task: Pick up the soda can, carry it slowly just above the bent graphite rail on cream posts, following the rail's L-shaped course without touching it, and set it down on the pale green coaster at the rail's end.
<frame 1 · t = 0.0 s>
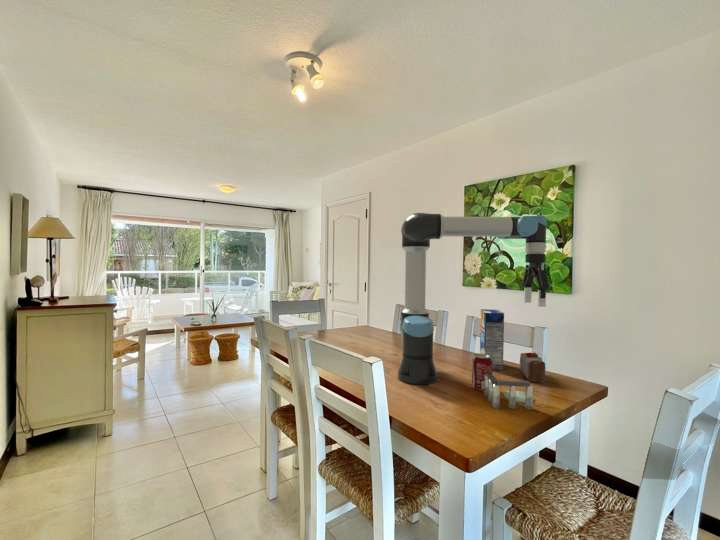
hand: (534, 304, 148), 28 cm above the table, tool pointing down, fingers open, 13 cm apart
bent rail: (507, 401, 116), on the table
food item: (532, 377, 142), on the table
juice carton: (490, 366, 156), on the table
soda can: (481, 389, 128), on the table
coaster: (518, 397, 120), on the table
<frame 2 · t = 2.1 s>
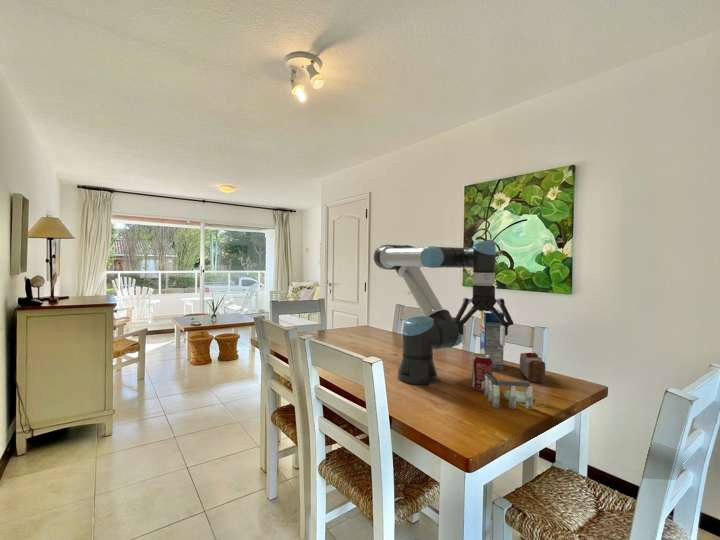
hand: (482, 344, 127), 16 cm above the table, tool pointing down, fingers open, 13 cm apart
nothing on the table moved.
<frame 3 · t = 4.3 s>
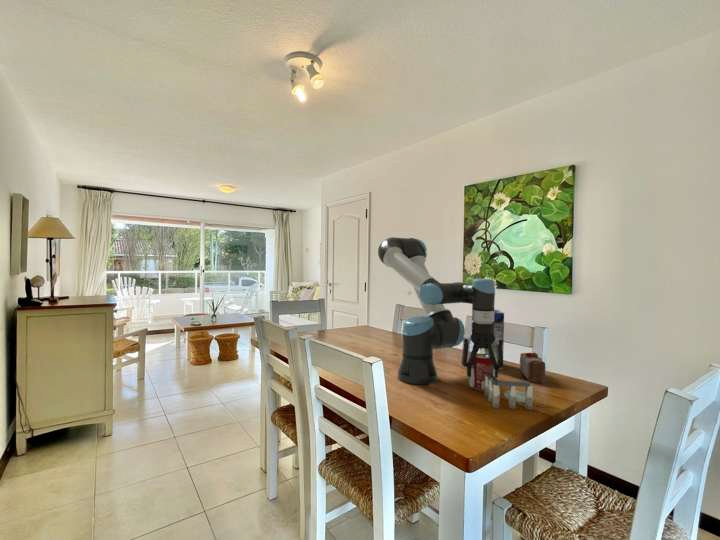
hand: (481, 385, 128), 1 cm above the table, tool pointing down, fingers closed on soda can, 7 cm apart
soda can: (481, 389, 128), on the table, touching gripper
everything else where it was.
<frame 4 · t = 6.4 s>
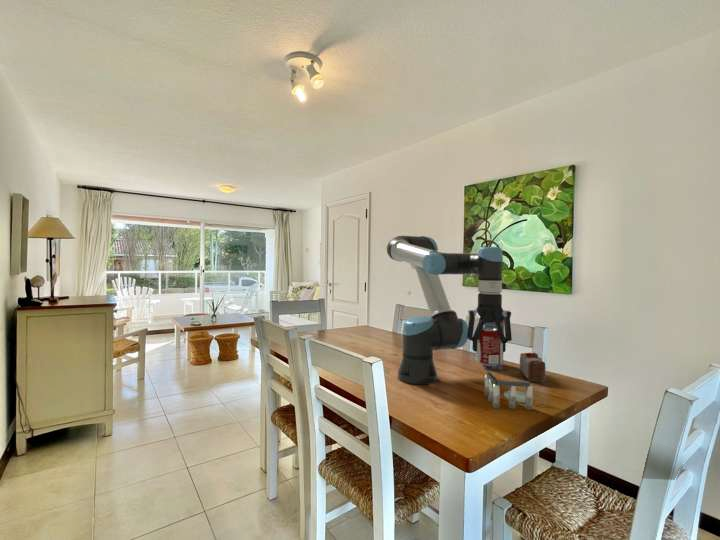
hand: (488, 361, 120), 12 cm above the table, tool pointing down, fingers closed on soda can, 7 cm apart
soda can: (488, 364, 120), point 11 cm above the table, touching gripper
everything else where it was.
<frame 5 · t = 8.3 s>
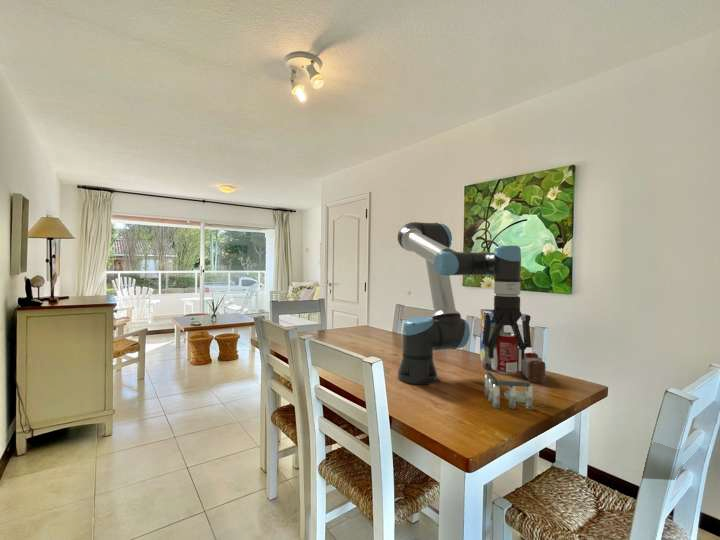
hand: (505, 368, 111), 12 cm above the table, tool pointing down, fingers closed on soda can, 7 cm apart
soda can: (505, 372, 111), point 11 cm above the table, touching gripper
everything else where it was.
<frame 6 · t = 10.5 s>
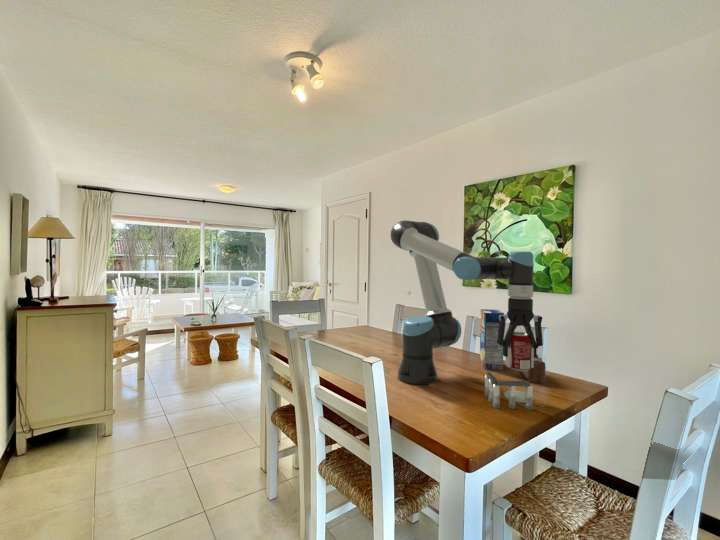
hand: (519, 366, 119), 11 cm above the table, tool pointing down, fingers closed on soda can, 7 cm apart
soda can: (519, 369, 119), point 9 cm above the table, touching gripper
everything else where it was.
when the fingers open (3 cm above the table, at t = 12.4 s): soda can drops 2 cm, resting on coaster.
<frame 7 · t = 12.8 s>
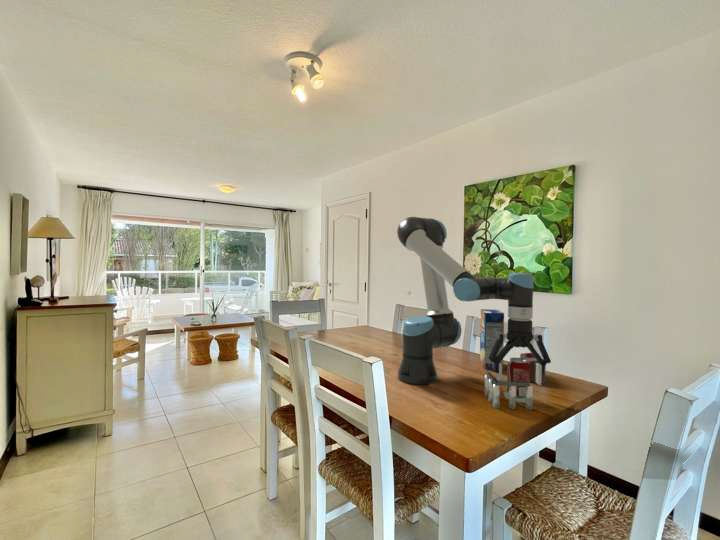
hand: (518, 383, 120), 5 cm above the table, tool pointing down, fingers open, 12 cm apart
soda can: (518, 395, 120), point 1 cm above the table, touching coaster
everything else where it was.
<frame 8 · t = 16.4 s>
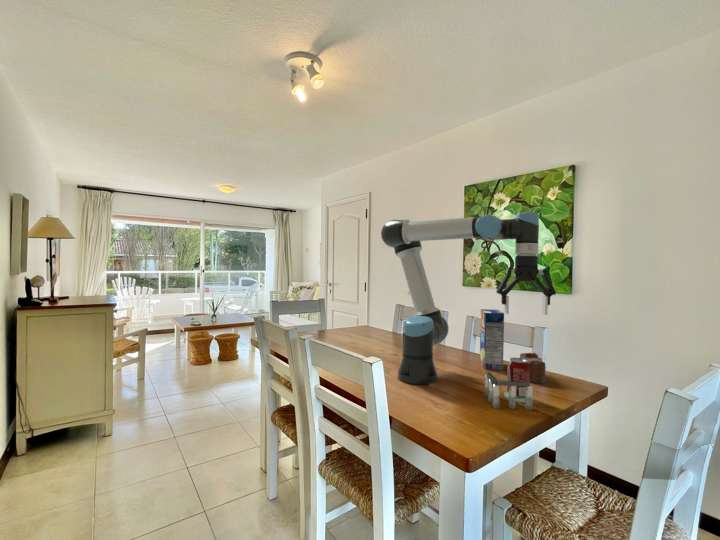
hand: (525, 313, 130), 27 cm above the table, tool pointing down, fingers open, 13 cm apart
nothing on the table moved.
at the end: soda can 0.1 cm from the coaster (horizontally); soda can tilted 0°; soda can point 0.6 cm above the table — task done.
